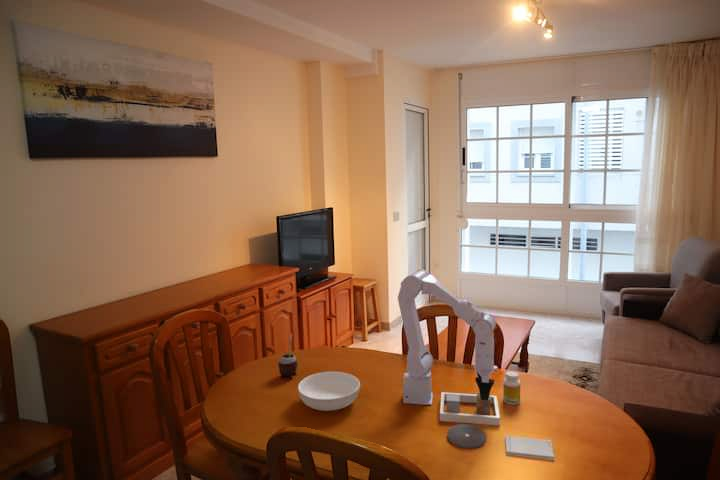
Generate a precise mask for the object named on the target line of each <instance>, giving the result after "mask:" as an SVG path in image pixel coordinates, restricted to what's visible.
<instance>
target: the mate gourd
mask: <svg viewBox="0 0 720 480" xmlns="http://www.w3.org/2000/svg"><path fill="white" fill-rule="evenodd" d="M292 337H293V333H290V337H289V343H288V344H289V345H288V347H289V348H288V353H285V354H282V355H281V356H280V357H279V359H278V370H279V371H278V372H279V374H280V379H285V378H286V379H287V378H288V379H290V380H293V379H294V378H293V376H296V375H297V368H298V360H297V356H295V355H294V354H292V353H291V352H292Z"/></svg>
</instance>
